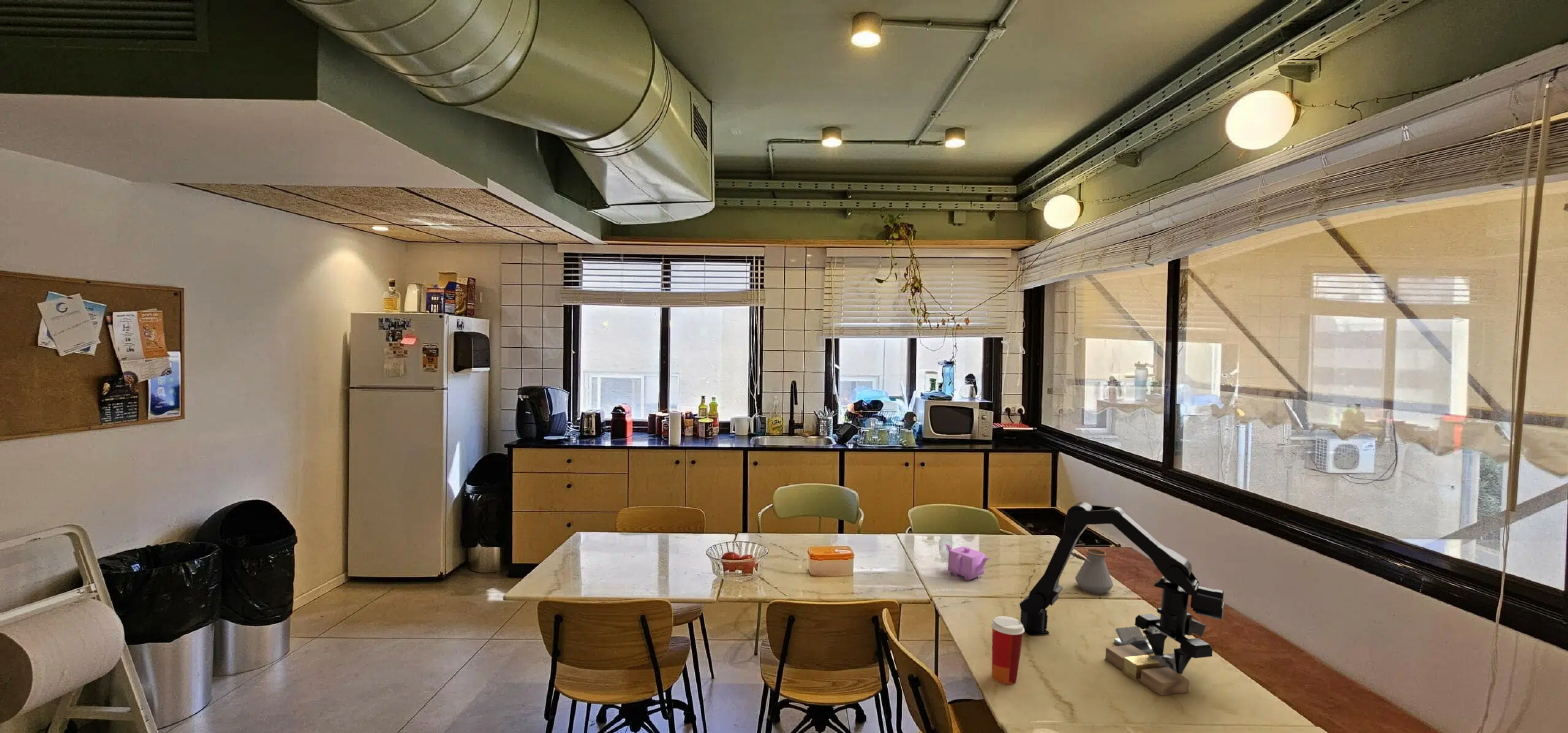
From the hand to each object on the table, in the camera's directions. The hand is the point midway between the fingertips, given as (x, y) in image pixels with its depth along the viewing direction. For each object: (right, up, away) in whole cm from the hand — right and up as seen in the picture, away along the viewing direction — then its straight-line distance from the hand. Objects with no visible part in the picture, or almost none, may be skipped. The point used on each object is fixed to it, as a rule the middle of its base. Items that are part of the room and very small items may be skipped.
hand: (1169, 667), depth 170 cm
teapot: (-35, +4, +62) cm, 71 cm away
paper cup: (-44, 0, -7) cm, 45 cm away
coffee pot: (+2, +2, +51) cm, 51 cm away
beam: (-7, -1, -2) cm, 8 cm away
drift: (-8, -1, -2) cm, 9 cm away
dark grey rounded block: (-2, -1, 0) cm, 2 cm away
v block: (-2, 0, +13) cm, 13 cm away
